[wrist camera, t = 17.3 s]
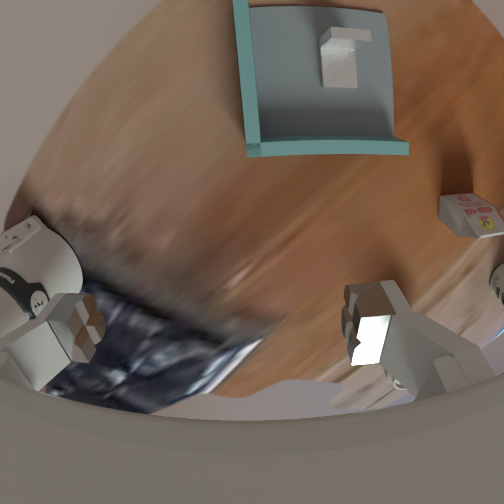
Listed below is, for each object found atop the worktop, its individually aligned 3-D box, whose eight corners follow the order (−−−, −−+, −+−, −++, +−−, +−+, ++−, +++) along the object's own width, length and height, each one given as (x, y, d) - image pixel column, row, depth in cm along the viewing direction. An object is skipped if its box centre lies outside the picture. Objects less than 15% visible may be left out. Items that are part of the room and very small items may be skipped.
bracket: (317, 40, 27) (330, 26, 21) (350, 42, 27) (370, 30, 21) (321, 87, 30) (335, 84, 24) (354, 88, 30) (375, 86, 24)
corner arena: (249, 150, 35) (247, 157, 30) (236, 10, 26) (232, -3, 22) (391, 147, 33) (408, 155, 29) (383, 14, 25) (400, 5, 20)
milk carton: (471, 215, 37) (508, 244, 28) (438, 219, 38) (474, 251, 29) (473, 192, 35) (513, 218, 26) (439, 195, 36) (479, 223, 27)
